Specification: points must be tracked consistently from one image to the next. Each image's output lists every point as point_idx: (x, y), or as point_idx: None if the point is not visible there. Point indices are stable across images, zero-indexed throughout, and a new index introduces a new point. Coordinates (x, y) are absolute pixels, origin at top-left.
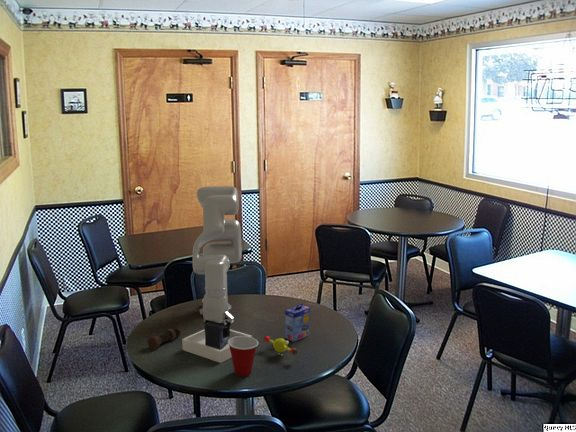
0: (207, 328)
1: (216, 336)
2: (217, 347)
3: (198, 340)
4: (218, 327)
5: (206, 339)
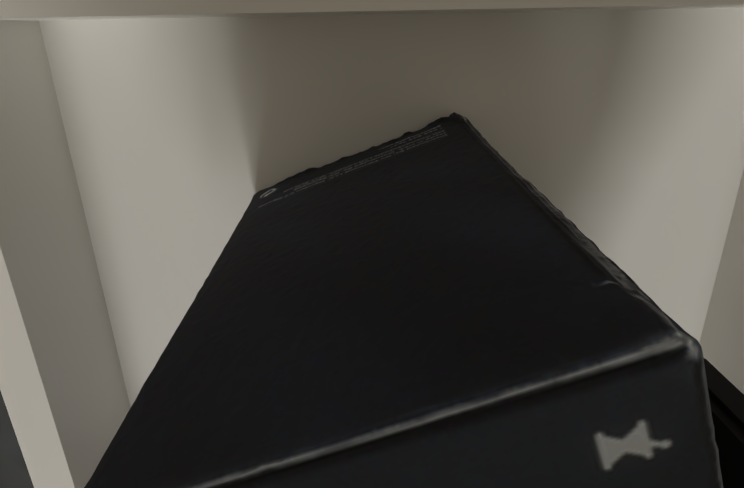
0: (507, 286)
1: (244, 279)
2: (269, 200)
3: (732, 261)
4: (93, 480)
5: (470, 161)
